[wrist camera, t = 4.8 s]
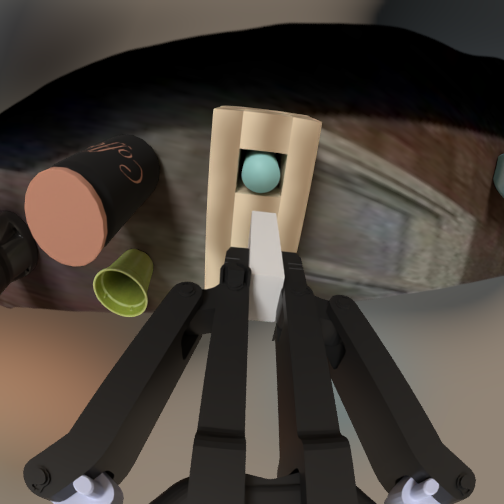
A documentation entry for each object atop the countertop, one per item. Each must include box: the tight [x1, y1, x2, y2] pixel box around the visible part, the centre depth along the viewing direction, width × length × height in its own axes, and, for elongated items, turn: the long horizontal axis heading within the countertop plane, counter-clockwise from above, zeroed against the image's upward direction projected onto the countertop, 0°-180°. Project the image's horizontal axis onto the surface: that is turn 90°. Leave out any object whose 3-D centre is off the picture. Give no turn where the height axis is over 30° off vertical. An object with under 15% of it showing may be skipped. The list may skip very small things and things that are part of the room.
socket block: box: [205, 106, 322, 289], centre depth 36 cm, size 11×25×9 cm, turn 174°
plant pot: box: [93, 249, 153, 317], centre depth 43 cm, size 9×9×9 cm
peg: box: [242, 149, 280, 193], centre depth 32 cm, size 4×4×8 cm
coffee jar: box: [25, 135, 160, 266], centre depth 30 cm, size 11×11×18 cm
